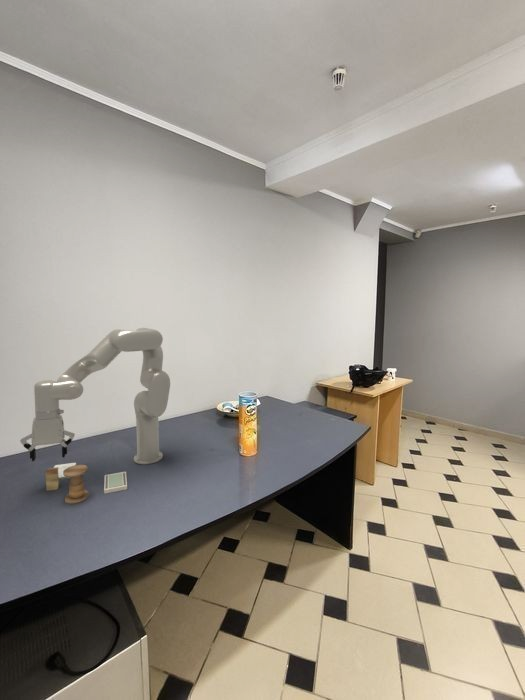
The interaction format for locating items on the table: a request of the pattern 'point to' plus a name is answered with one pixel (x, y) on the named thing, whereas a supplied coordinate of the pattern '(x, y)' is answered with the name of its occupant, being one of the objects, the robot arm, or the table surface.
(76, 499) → the bobbin
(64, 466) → the external hard drive
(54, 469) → the wooden block
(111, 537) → the table surface
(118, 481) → the board
